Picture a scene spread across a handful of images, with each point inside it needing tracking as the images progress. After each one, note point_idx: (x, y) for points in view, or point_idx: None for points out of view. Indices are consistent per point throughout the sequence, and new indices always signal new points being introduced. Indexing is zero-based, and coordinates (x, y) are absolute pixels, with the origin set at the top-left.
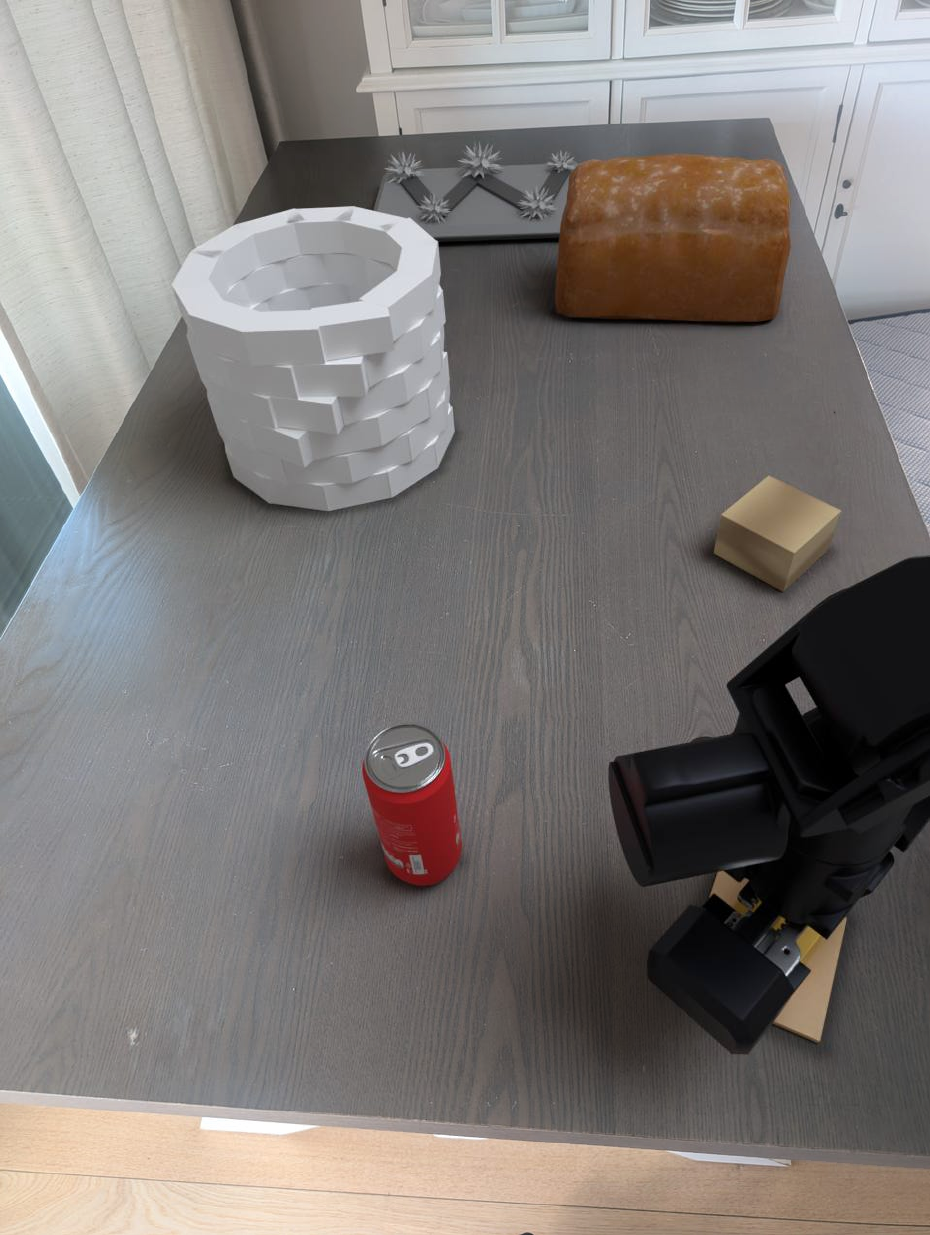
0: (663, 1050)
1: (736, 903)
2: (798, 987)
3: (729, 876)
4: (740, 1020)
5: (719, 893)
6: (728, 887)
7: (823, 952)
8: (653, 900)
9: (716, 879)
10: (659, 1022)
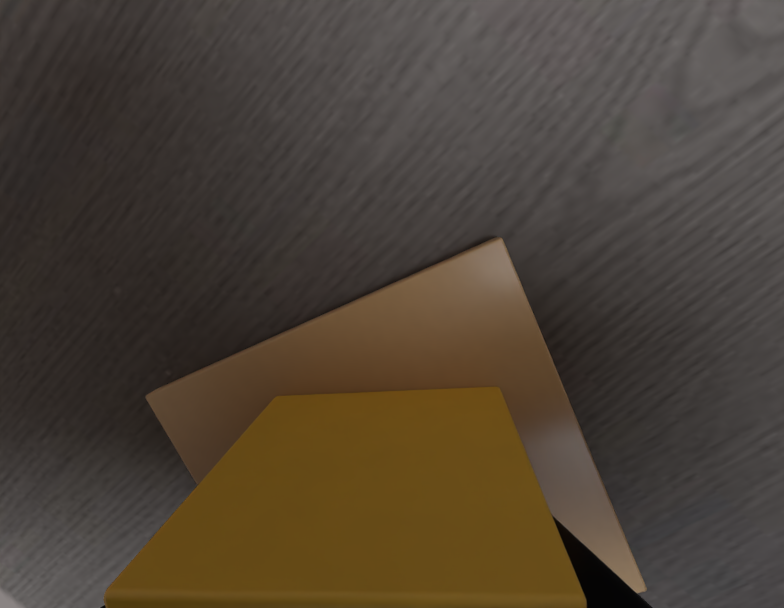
0: (27, 455)
1: (216, 602)
2: None
3: (503, 281)
4: None
5: (425, 300)
6: (467, 305)
7: None
8: (256, 165)
9: (460, 260)
10: (55, 411)
